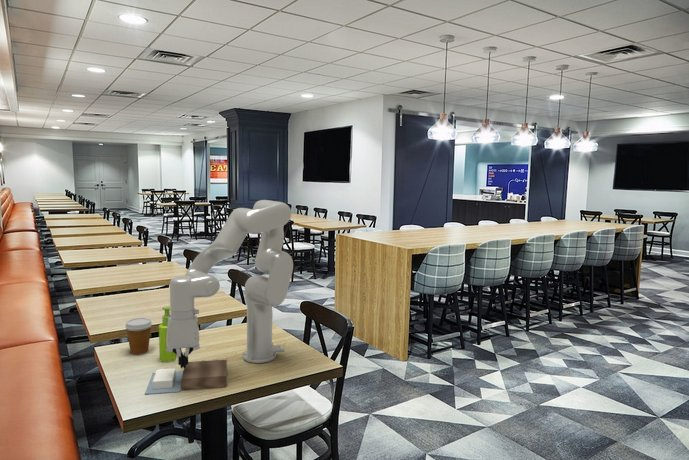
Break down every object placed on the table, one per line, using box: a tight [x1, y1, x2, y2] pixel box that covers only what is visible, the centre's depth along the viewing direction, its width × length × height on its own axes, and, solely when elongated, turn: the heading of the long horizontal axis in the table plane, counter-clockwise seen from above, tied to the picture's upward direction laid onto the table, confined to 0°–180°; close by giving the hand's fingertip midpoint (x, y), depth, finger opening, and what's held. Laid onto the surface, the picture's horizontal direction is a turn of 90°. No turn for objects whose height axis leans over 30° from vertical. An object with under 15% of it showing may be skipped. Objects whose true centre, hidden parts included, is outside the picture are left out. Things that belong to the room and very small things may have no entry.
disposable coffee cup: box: [124, 317, 153, 356], centre depth 182 cm, size 10×10×12 cm
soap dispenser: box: [158, 306, 177, 363], centre depth 175 cm, size 6×7×20 cm
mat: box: [144, 370, 183, 396], centre depth 158 cm, size 10×15×1 cm
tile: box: [153, 368, 177, 389], centre depth 158 cm, size 6×9×2 cm, turn 13°
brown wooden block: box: [181, 359, 228, 391], centre depth 161 cm, size 14×13×4 cm
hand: (183, 366), depth 159 cm, fingers closed
